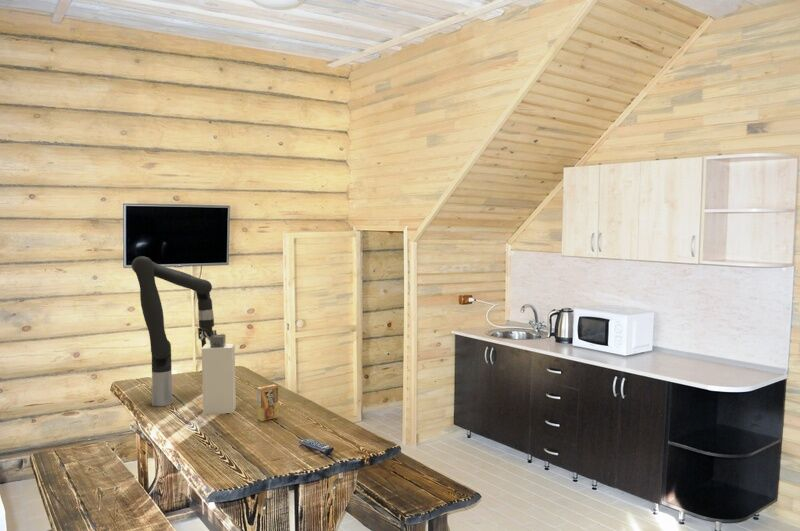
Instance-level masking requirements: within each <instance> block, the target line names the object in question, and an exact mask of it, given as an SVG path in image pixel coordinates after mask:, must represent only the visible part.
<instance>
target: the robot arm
mask: <svg viewBox="0 0 800 531" xmlns="http://www.w3.org/2000/svg"><path fill="white" fill-rule="evenodd" d="M131 269H132V271H133V272H134V273H135V274H136V277H137V280H138V285H139V291H140V292H139V297H140V300H139V301H140V306H141V310H142V315H143V318H144V322H145V325H146V328H147V330H148V334H149V343H150V352H151V385H152V386H151V406H152V407H167V406H170V405H172V404H173V376H172V375H173V374H172V345H171V342H170V341H169V339H168V337H167V334H166V330H165V319H164V311H163V310H164V309H163V305H162V301H161V296H160V294H159V293H160V292H159V290H158V287H157V284H156V279H155V278H158V279H161V280H163V281H166V282H168V283H171V284H173V285H176V286H179V287H182V288H185V289H190V290H192V291H195V294H196V297H197V298H196V299H197V307H198V308H197V309H198V312H197V314H198V315H197V316H198V328H197V332H198V333H197V334H198V340H200V341H201V349H202V348H203V346H204V345H205V344H207V340H208V342H209V344H211V342H210V337H211V336H212V335H218V334H217V330H216V329H213V327H215V319H214V318H215V317H214V309H213V300H212V298H211V293H210V292H211V291H212V289H213V285H212V284H211V283H212V282H210V281H208V280H207V279H203V278H199V277H195V276H193V275H191V274H189V273H186V272H183V271H180V270H178V269H173V268H169V267H166V266H163V265H162V264H161V265H160V264H158V263H157V262H154V261H152V259H150V257H147V256H143V255H141V256H137V257H135V258H134V259H133V260H132V262H131Z"/></svg>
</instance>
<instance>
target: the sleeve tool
mask: <svg viewBox="0 0 800 531" xmlns="http://www.w3.org/2000/svg"><path fill="white" fill-rule="evenodd" d="M210 342H211V348H224V346H225V345H226V344H227V343H226V333H225V334H224V333H221V334H217V335H212V336H211V337H210V341H209V343H210Z"/></svg>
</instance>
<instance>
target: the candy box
mask: <svg viewBox="0 0 800 531" xmlns="http://www.w3.org/2000/svg"><path fill="white" fill-rule="evenodd" d="M256 391H257V393H256V394H257V420H259V421H260V422H264V421H268V420H271V419H272V420H273V419H277V418H279V386H278V385H276V384H269V385H263V386H259V387H257V388H256Z"/></svg>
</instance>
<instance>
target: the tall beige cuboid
mask: <svg viewBox="0 0 800 531" xmlns="http://www.w3.org/2000/svg"><path fill="white" fill-rule="evenodd" d="M235 347H236V346H235V342H234V343H226V345H225V346H224V348H211V344H210V343H206V344H205V345H204V346H203V348H202V347H201V370H202V371H201V372H202V373H201V374H202V376H201V377H202V378H201V379H202V414H207V415H223V414H224V415H225V414H226V413H230V414H234V413H235V411H236V406H237V402H236V401H237V399H236V397H237V396H236V395H237V394H236V390H237V388H236V356H235V355H236V352H235V350H236V348H235Z"/></svg>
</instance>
